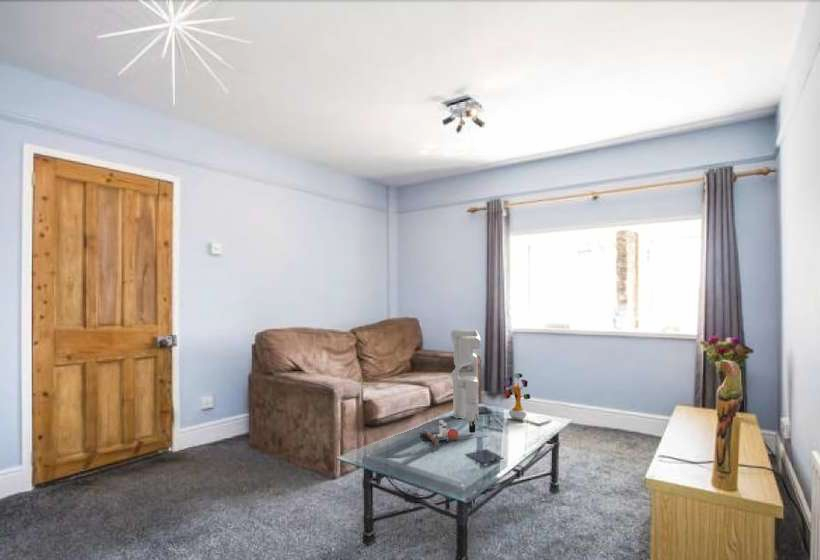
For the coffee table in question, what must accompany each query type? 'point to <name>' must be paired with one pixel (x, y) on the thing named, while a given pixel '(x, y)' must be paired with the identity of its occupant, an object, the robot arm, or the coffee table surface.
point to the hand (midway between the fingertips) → (472, 432)
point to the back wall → (432, 437)
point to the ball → (452, 434)
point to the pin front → (439, 435)
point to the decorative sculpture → (516, 397)
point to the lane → (468, 435)
